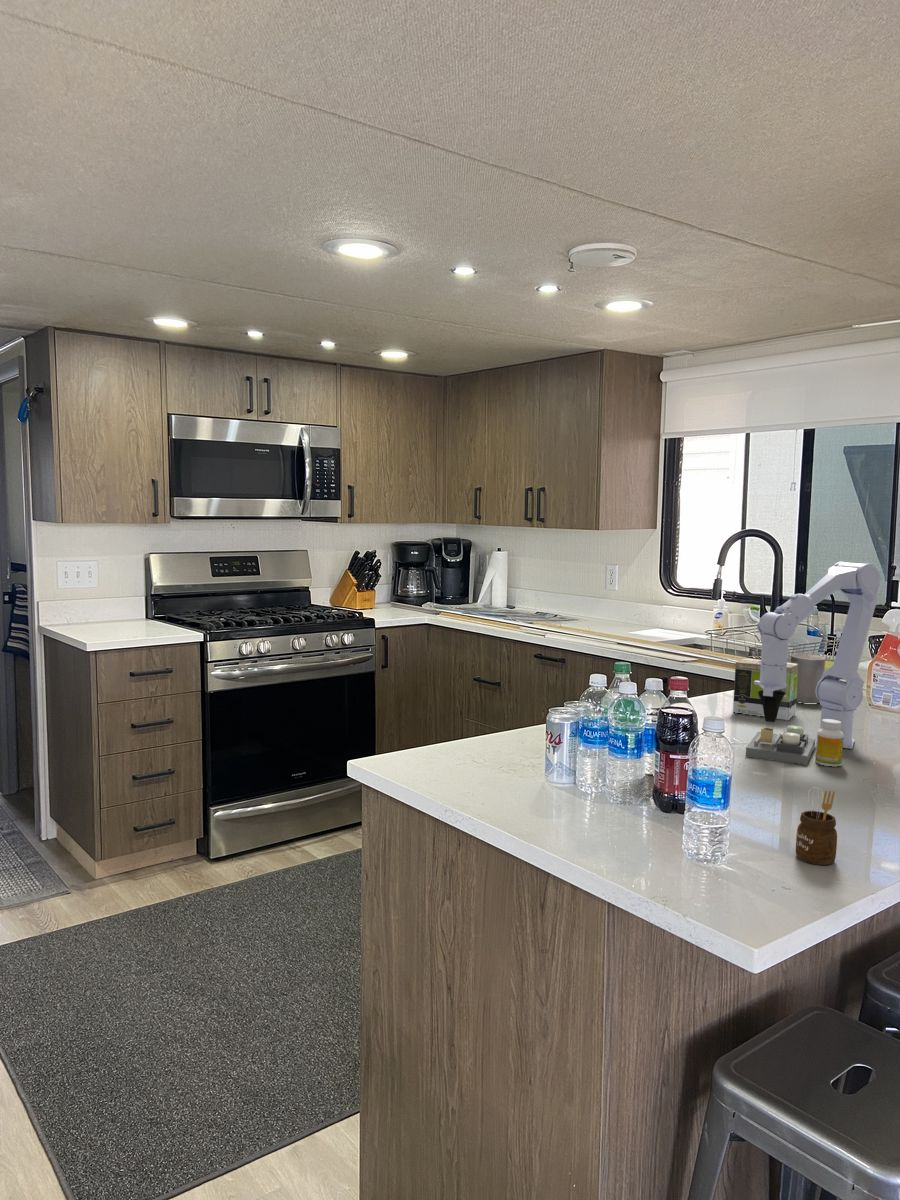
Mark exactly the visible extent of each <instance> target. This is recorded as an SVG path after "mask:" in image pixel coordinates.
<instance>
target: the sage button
mask: <svg viewBox="0 0 900 1200" xmlns="http://www.w3.org/2000/svg"><path fill="white" fill-rule="evenodd" d="M804 729H805V728H804V727H802V726H798V725H787V727H786V732H788V733H796V734H799V735H800V738H803V734H805V733H804V732H805V730H804Z"/></svg>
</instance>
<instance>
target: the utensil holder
mask: <svg viewBox="0 0 900 1200" xmlns="http://www.w3.org/2000/svg"><path fill="white" fill-rule="evenodd" d="M815 788H816V790H817V791H819V788H818V786H813V787H811V788H810V789H809V790H808V793H807V804H808V805H810V801H809V796H810V795H809V794H810V791H811V790H812V792H811V794H814V790H815ZM820 791H821V794H822V795H821V796H822V797H821V798H822V803H821V808H820V806H819V805H817V811H816V810H814V808H812V810H811V809H810V808H811V807H810V806H809V810H805V811H803V812H801V814H800V817H799V819H800V820H799V821H800V823H799V824H798V826H797V828H796V829H797V830H796V839H795V855H796V857H797V859H799V860H800V861H802V862H804V863H808V864H812V865H817V866H829V865H832V864H834V863H835V861H836V857H837V847H838V833H837V830H836V826H837V819H836V817H835V816H833V815H832V814H829V813H828V811H830V810H832V808H833V804H834V800H835V795H836V793H835V791H832V792H831V791H830V790H829V791H827V790H826V791H824V793H823V792H822V790H820ZM831 793H832V794H831ZM819 795H820V794H819V792H817V798H820V796H819ZM811 803H812V807H814V801H811ZM819 808H820V811H819ZM822 810H823V811H822Z"/></svg>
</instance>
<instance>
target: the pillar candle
mask: <svg viewBox="0 0 900 1200" xmlns="http://www.w3.org/2000/svg"><path fill="white" fill-rule="evenodd" d="M826 659H827V658H826V657H824V656H821V655H817V654H810V653H809V652H808V651H807V654H806V653H793V654H791V656H790V663H797V664H798V682H797V701H796V702H801V703H820V700H818V698H817V696H816V692H815V690H816V686H817V683H818V682H819V681H820V679H821V678H822V675H823V672H824V671H825V670H826V669H825V666H826Z"/></svg>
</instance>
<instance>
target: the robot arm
mask: <svg viewBox="0 0 900 1200" xmlns="http://www.w3.org/2000/svg"><path fill="white" fill-rule="evenodd" d="M881 580H882V575H881V574H880V571H879V570H878V567H877V566H876V565H874V564H873V563H860V562H859V563H858V562H857V563H856V562H846V561H838V562H836V563H835V564H834V565H833V566H831V567H829V568H828V570H827V574H826V575H824V576H823V577H822V578H821V579H820V580H818V582H816V583H815V584H814V585H813V586H812V587H811V588H810V589H809V590H808V591H806V592H805V593H804V594H803V593H795V594H792V595H790V596H789V599H787V601H786V602H784V603H782V604H781V605H780V606H776V608H775V610H774V611H773V612H772V611H769V612H766V613H764V614H762V616H761V617H760V619H759V621H758V623H757V624H756V625H757V626H756V627H757V631H758V633H759V634H760V641H761V652H760V653H761V654H760V655H761V656H760V660H761V669H760V681H754V684H755V685H759V686H760V687H761V688H763V690H760V691H759V692H758V694H759V697H760V699H761V702H762V705H763V711H764V717H763V718H764V722H766V723H767V722H768V723H775V722H776V720H777V719H776V718H777V714H778V710H779V706H780V703H781V701H782V699H783V697H784V695H785V694H786V692H785V691H780V690H779V689H783V688H786V685H787V684H786V670H787V663H788V654H789V653H788V652H789V651H788V649H789V638H792V636H793V635H794V634H795V632H796V629H797V627H798V626H799V624H801V623H802V622H803V621H805V620H807V618H808V617H810V616H811V615H812V614H814V612H815V609H816V607H815V606H816V605H817V604H820V602H822V601H824V600H825V599H826V598H828V597H829V596H831V595H833V594H834V593H836V592H837V591H838V590H839V591H840V593H842V594H843V596H845V597H846V598H847V600H848V602H849V607H848V611H847V613H846V614H847V615H846V618H845V622H844V625H843V630H842V632H841V636H840V640H839V643H838V647H837V650H836V654H835V658H834V660H833V665H831V666H829V667H828V668H827V669H824V672H823V675H822V678H821V679H820V681H819V682H818V683H817V686H816V690H815V692H816V696H817V698H818V700H820V704H819V705H820V706H821V711H820V712H821V713H820V723H819V724H820V726H819V729H822V728H823V727H822V725H821V724H822V720H823V719H833V720H838V721H840V722H841V729H840V731H841V732H843V734H844V739H843V748H844V749H848V750H849V749H851V750H852V749H853V747H854V744H855V739H854V738H853V730H854V729H853V726H854V717H855V716H854V715H855V711H857V708H859V706H861V704H862V701H863V699H864V692H863V691H864V690H863V689H864V688H863V687H864V684H865V681H864V679H863V678H862V677H861V675H860V674H859V672H858V670H859V666H860V662H861V660H862V659H861V658H862V655H863V652H864V648H865V645H866V644H865V643H866V641H867V637H868V633H869V630H870V628H871V627H870V626H871V623H872V620H873V616H874V612H875V609H876V605H877V602H878V592H879V588H880V583H881ZM816 744H817V741H815V745H816Z"/></svg>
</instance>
